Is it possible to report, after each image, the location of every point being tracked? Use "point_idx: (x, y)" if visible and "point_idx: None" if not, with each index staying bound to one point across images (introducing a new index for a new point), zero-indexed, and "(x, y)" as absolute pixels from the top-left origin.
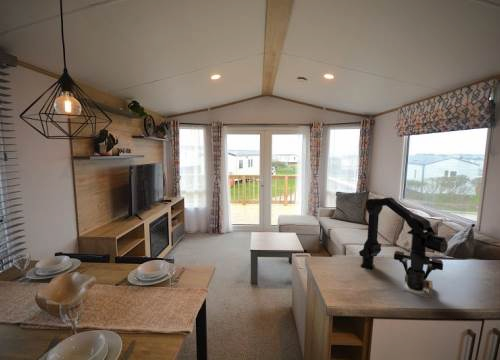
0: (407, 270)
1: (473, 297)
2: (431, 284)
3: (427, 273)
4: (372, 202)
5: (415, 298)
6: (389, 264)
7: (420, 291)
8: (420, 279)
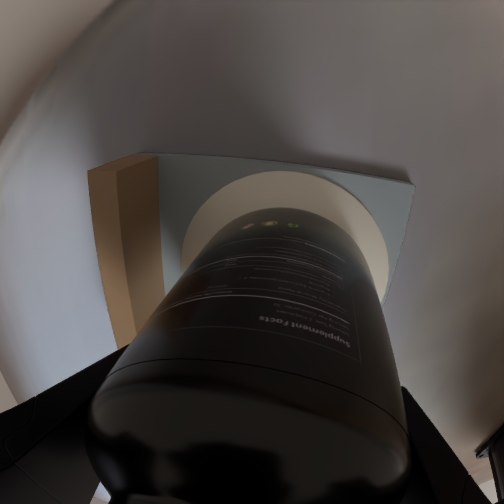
0: (413, 459)
1: (7, 313)
2: (121, 336)
3: (40, 412)
4: None
5: (294, 52)
6: None
7: None
8: (184, 294)
